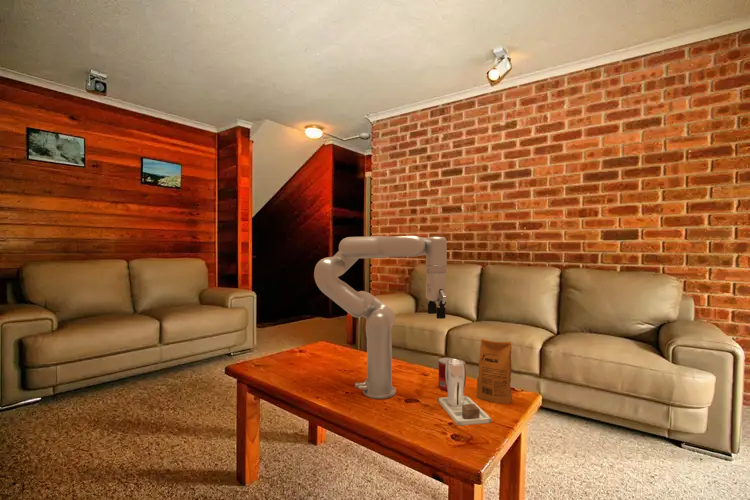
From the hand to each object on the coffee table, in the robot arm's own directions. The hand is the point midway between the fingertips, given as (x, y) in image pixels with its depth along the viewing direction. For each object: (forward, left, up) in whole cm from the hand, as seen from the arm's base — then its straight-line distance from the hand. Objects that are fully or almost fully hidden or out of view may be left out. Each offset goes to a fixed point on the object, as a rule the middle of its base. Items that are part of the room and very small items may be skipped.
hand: (436, 315), depth 135 cm
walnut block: (+4, -21, -29) cm, 36 cm away
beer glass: (+3, -10, -29) cm, 31 cm away
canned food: (+8, +8, -31) cm, 33 cm away
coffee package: (+20, -6, -31) cm, 37 cm away
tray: (+4, -15, -30) cm, 34 cm away
